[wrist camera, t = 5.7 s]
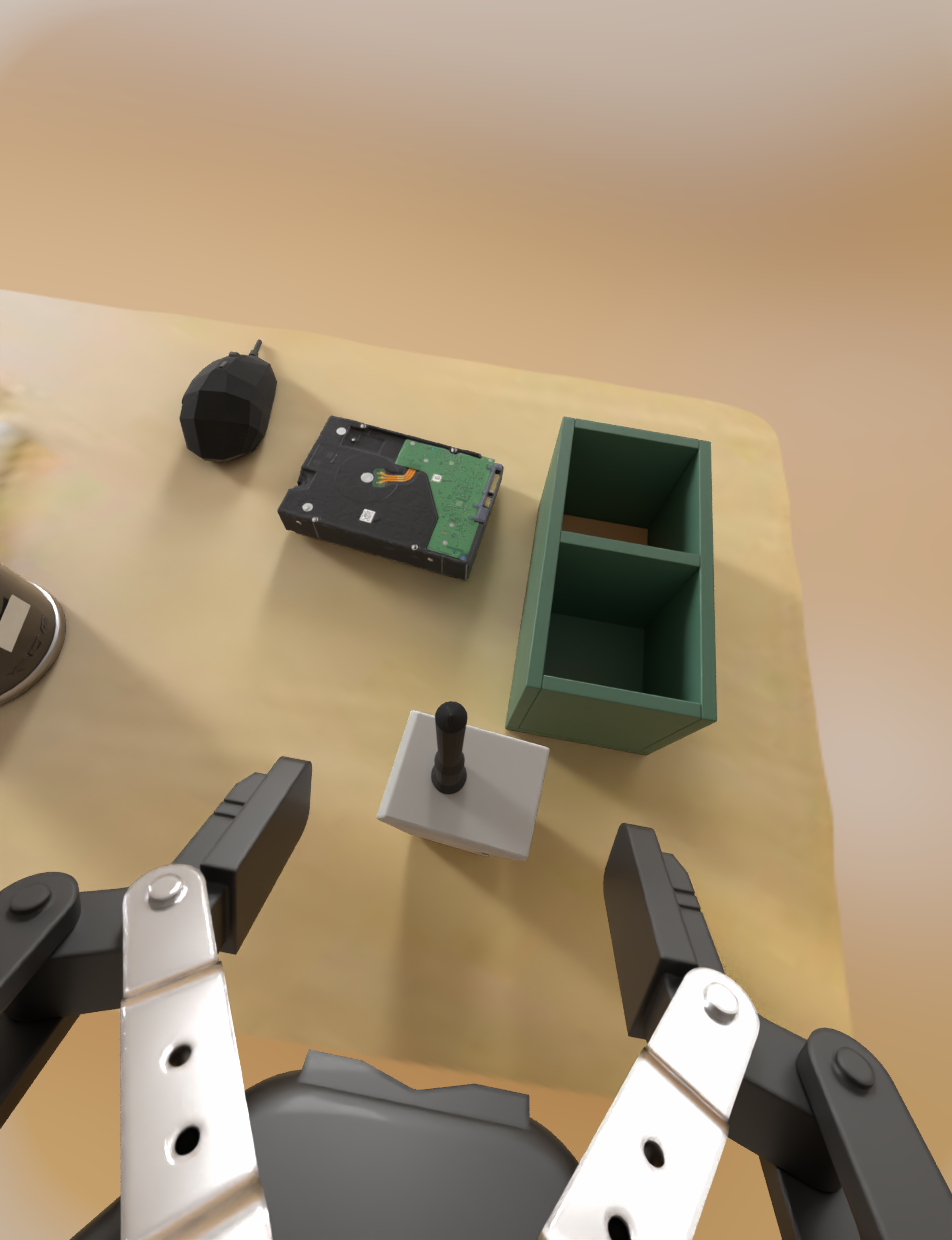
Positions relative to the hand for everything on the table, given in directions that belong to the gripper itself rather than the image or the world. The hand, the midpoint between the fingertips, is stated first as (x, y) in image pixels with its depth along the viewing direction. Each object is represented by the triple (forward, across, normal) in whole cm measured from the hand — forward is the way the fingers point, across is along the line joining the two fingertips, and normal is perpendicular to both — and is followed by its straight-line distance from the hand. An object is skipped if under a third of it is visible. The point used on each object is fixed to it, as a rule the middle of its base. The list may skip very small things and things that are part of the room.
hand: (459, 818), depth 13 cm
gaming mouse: (+37, +25, -8) cm, 45 cm away
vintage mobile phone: (+15, 0, +13) cm, 20 cm away
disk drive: (+31, +9, -2) cm, 32 cm away
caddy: (+26, -7, +3) cm, 27 cm away
